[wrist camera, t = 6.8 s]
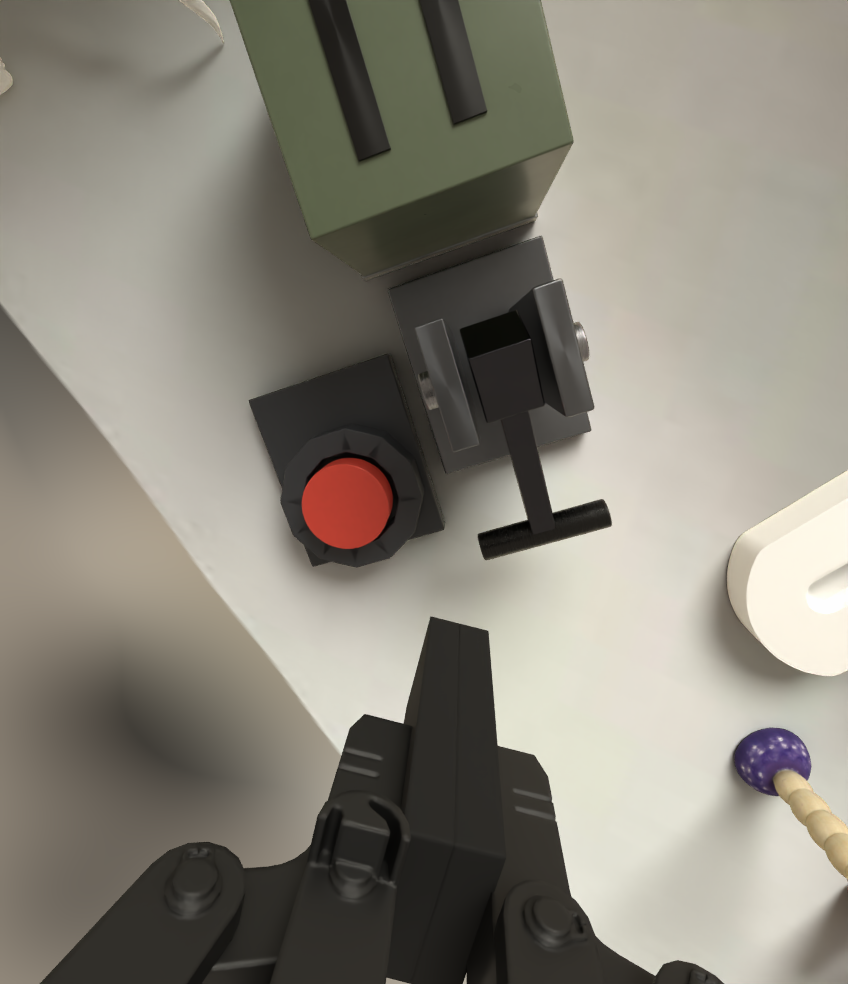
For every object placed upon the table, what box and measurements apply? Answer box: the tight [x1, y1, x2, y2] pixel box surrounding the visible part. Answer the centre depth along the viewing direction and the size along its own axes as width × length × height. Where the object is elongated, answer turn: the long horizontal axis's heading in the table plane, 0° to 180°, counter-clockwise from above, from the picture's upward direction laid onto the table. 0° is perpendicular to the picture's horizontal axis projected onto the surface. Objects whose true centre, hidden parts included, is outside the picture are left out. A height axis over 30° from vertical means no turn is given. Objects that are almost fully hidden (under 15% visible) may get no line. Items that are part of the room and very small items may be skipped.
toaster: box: [230, 0, 574, 281], centre depth 23 cm, size 11×9×11 cm
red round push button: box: [302, 458, 393, 549], centre depth 29 cm, size 4×4×2 cm
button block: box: [249, 354, 445, 567], centre depth 31 cm, size 10×8×3 cm
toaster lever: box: [460, 310, 612, 560], centre depth 23 cm, size 11×6×2 cm, turn 18°
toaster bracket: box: [388, 236, 594, 474], centre depth 25 cm, size 10×8×12 cm
